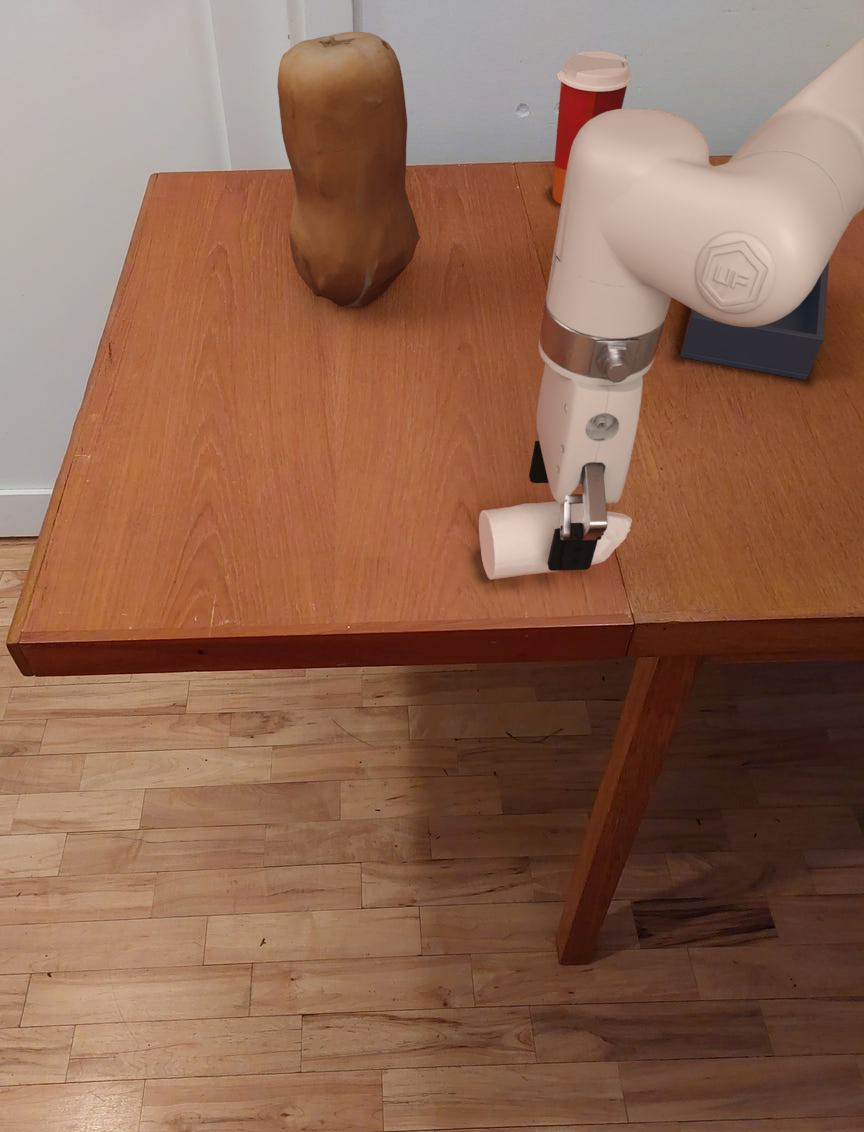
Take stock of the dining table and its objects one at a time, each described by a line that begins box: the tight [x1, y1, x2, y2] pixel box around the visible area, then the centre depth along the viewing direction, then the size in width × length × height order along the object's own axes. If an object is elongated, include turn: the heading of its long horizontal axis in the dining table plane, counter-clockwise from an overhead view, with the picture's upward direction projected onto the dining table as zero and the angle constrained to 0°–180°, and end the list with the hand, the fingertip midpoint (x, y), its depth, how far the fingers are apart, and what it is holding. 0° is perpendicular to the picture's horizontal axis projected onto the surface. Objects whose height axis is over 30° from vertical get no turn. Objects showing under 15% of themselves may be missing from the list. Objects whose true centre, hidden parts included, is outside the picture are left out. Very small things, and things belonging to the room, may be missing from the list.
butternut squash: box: [277, 31, 421, 308], centre depth 89 cm, size 14×13×25 cm
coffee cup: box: [552, 50, 633, 205], centre depth 106 cm, size 8×8×15 cm
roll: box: [478, 500, 633, 581], centre depth 71 cm, size 6×12×6 cm, turn 98°
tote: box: [679, 260, 830, 381], centre depth 93 cm, size 16×12×5 cm
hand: (557, 522), depth 71 cm, fingers open, 9 cm apart
